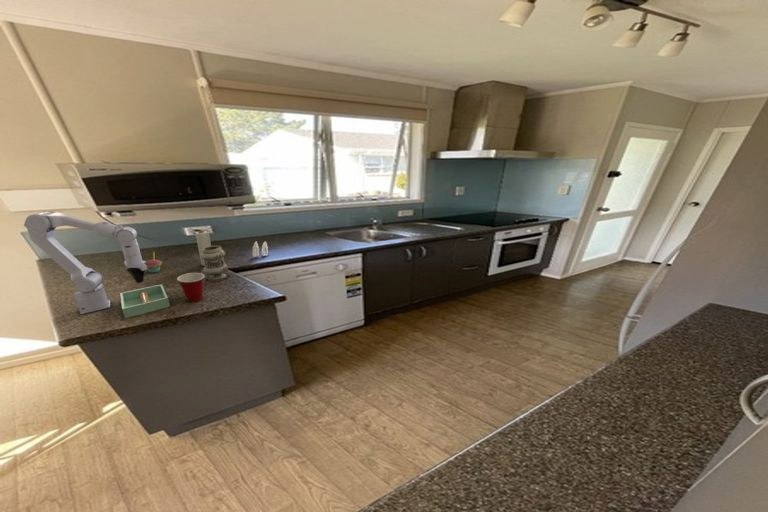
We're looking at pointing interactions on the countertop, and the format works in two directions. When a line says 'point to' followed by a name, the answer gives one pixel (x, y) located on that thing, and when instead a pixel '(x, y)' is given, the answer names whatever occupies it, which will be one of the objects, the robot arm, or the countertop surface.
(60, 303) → the countertop surface
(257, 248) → the shaker set
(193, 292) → the plastic cup
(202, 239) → the paper towel roll
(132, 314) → the bin
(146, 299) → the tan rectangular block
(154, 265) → the cupcake
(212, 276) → the apothecary jar
